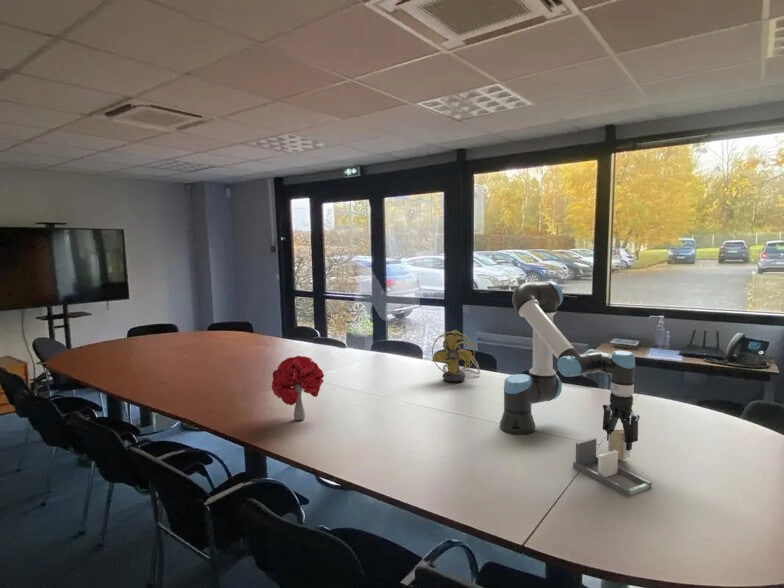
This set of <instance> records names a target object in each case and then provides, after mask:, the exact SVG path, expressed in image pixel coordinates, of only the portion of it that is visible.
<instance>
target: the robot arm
mask: <svg viewBox="0 0 784 588" xmlns="http://www.w3.org/2000/svg"><path fill="white" fill-rule="evenodd" d="M511 299H512V300H511V301H512V305H513V307H514V310H515V311H516V313H517V314H518V315H519V317H521V318H525V320H526V321H527V323H528V324H529V325H530V326H531V328H532V367H531V368H530V369H529V370H528V374H525V373H520V374H518V373H517V374H512V375H509V376H507V377H506V378H505V380H504V383H503V392H504V393H503V412H502V416H501V419H500V422H499V429H500V430H501V431H502V432H504V433H507V434H510V435H515V436H526V435H531V434H533V433H535V432H536V423H535V420H534V417H533V414H532V405H533V404H539V403H543V402H544V403H545V402H550V401H552V400H555V399H557V398H558V397H559V396H560V395H561V393H562V391H563V390H562V389H563V387H562V386H563V385H562V381H561V379H560V377H559V376H558V375H557V371H556V370H555V369H554V368H553V367H554V365H553V363H554V362H553V359H554V356H555V358H556V359H557V364H556V365H557V366H556V367H557V368H558V372H559V373H560V375H562V376H563V377H566V378H567V377H568V378H571V377H578V376H581V375H588V374H594V373H604V374H606V375H610V389H609V391H610V394H609V403H607V404H606V403H604V404H603V405H602V408H603V419H602V430H603V431H605V432H606V440H607V442H608V444H607V452H610V450H611V432H613V431H614V430H616V426H617V423H618V421H619V420H620V422H621V424H622V430H624V435H625V441H623V458H624V459H623V460H626V459H628V458H630V454H631V451H632V449H633V443H635V442H638V441H639V420H640V415H639V414H635V413H634V412H633V410H632V409H633V408H632V407H633V404H634V388H635V381H634V379H635V372H636V371H635V368H636V356H635V354H634V353H633V352H631V351H628V350H614V351H612V353H609V352H605V351H602V350H599V349H593V348H590V349H587V350H586V351H585V352H584V353H579V352H578V351H577V350H576V348H574V346H573V345H572V344H571V343H570V341H569V340H568V338H566V336H564V334H563V333H562V332H561V330H560V329H559V328H558V327H557V326H556V325H555V323H554V316H555V315H556V314H557V313H558V307H559V306H561V305H562V303H563V300H564V293H563V289H561V286H560V285H559V284H558V283H556V282H555V281H550V280H540V281H531V282H529V281H527V282H522V283H520V284H519V285H517V286H516V288H515V289H514V290H513V293H512V298H511Z"/></svg>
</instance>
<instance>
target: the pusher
mask: <svg viewBox="0 0 784 588" xmlns="http://www.w3.org/2000/svg"><path fill="white" fill-rule="evenodd" d="M597 456H598V463H597V473H599V474H601V475H603V476H605V477H607V478H608V477H611V476H613V475H617V474H618V473H617V470H618V466H619V465H618V464H619V459H618V451H616V450H613V451H610V452H609V451H607V452H604V453H600V454H598V455H597Z"/></svg>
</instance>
